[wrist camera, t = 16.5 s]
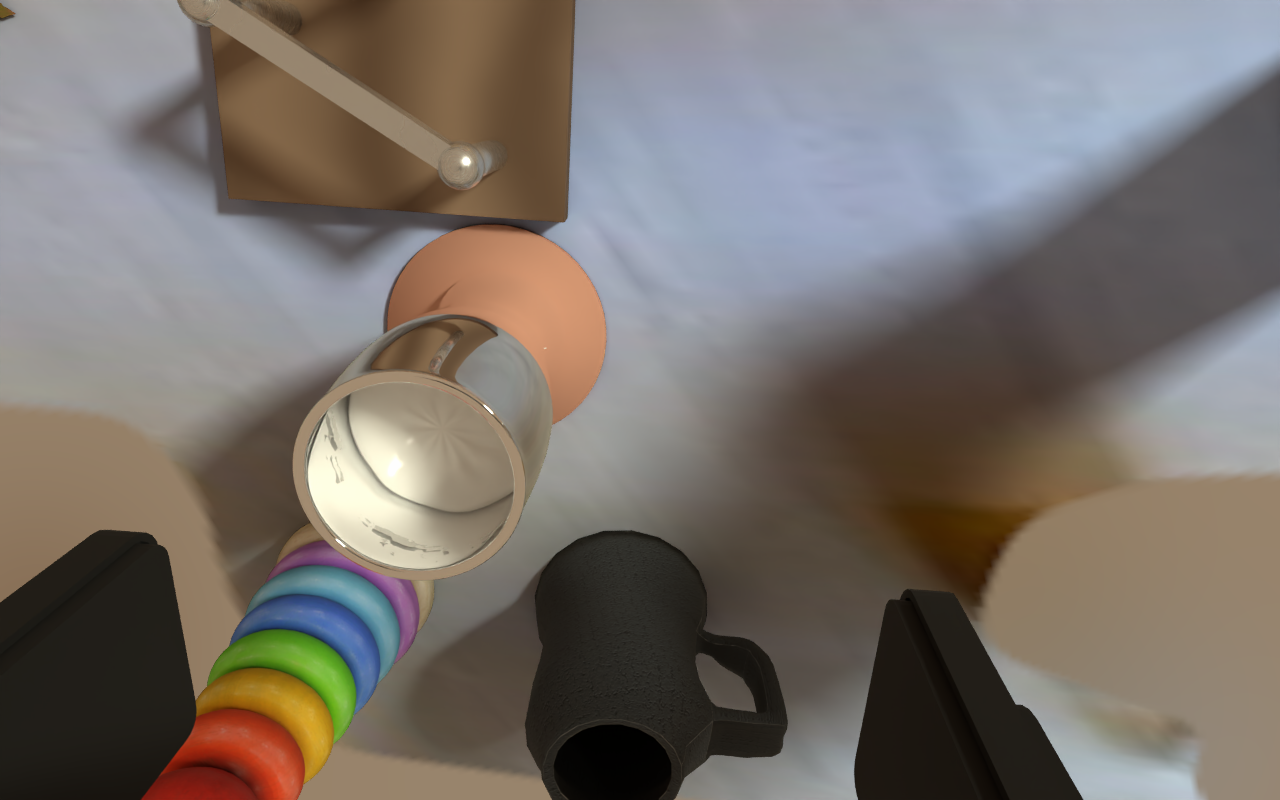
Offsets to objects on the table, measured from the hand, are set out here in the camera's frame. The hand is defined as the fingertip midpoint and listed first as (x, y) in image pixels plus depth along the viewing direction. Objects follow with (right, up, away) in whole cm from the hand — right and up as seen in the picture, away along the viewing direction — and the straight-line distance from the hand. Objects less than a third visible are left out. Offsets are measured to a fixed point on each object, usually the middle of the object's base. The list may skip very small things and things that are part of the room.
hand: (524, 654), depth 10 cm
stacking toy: (-13, -6, +31) cm, 34 cm away
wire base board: (-7, +18, +22) cm, 29 cm away
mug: (+2, -8, +32) cm, 33 cm away
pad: (-5, +6, +26) cm, 27 cm away
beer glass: (-5, +6, +26) cm, 27 cm away
